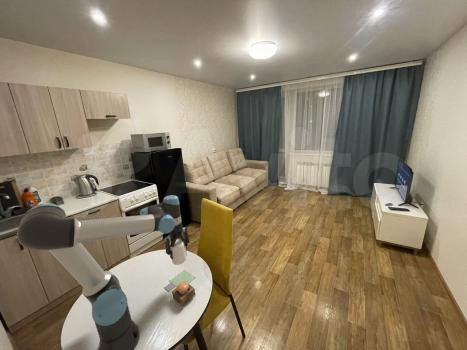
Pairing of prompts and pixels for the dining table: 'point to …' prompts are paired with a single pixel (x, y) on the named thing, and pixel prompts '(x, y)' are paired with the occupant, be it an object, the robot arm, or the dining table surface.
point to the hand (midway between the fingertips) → (179, 258)
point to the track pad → (169, 287)
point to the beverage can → (178, 252)
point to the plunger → (182, 288)
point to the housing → (186, 297)
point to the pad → (182, 278)
